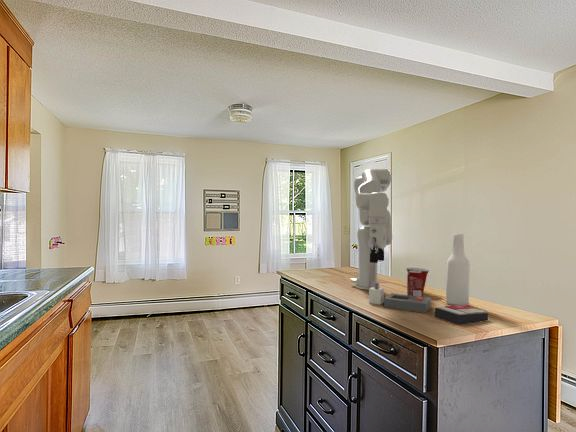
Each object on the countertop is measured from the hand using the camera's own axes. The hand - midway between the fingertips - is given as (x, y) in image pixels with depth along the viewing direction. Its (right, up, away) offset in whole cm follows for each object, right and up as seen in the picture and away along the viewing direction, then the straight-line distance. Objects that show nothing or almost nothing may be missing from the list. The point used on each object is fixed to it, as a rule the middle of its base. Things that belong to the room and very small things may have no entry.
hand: (377, 261), depth 153 cm
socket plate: (+11, -18, -6) cm, 22 cm away
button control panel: (+25, -19, -22) cm, 38 cm away
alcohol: (+34, -18, 0) cm, 39 cm away
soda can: (+20, -18, +12) cm, 29 cm away
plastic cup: (+25, -18, +22) cm, 38 cm away
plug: (0, -18, 0) cm, 18 cm away
